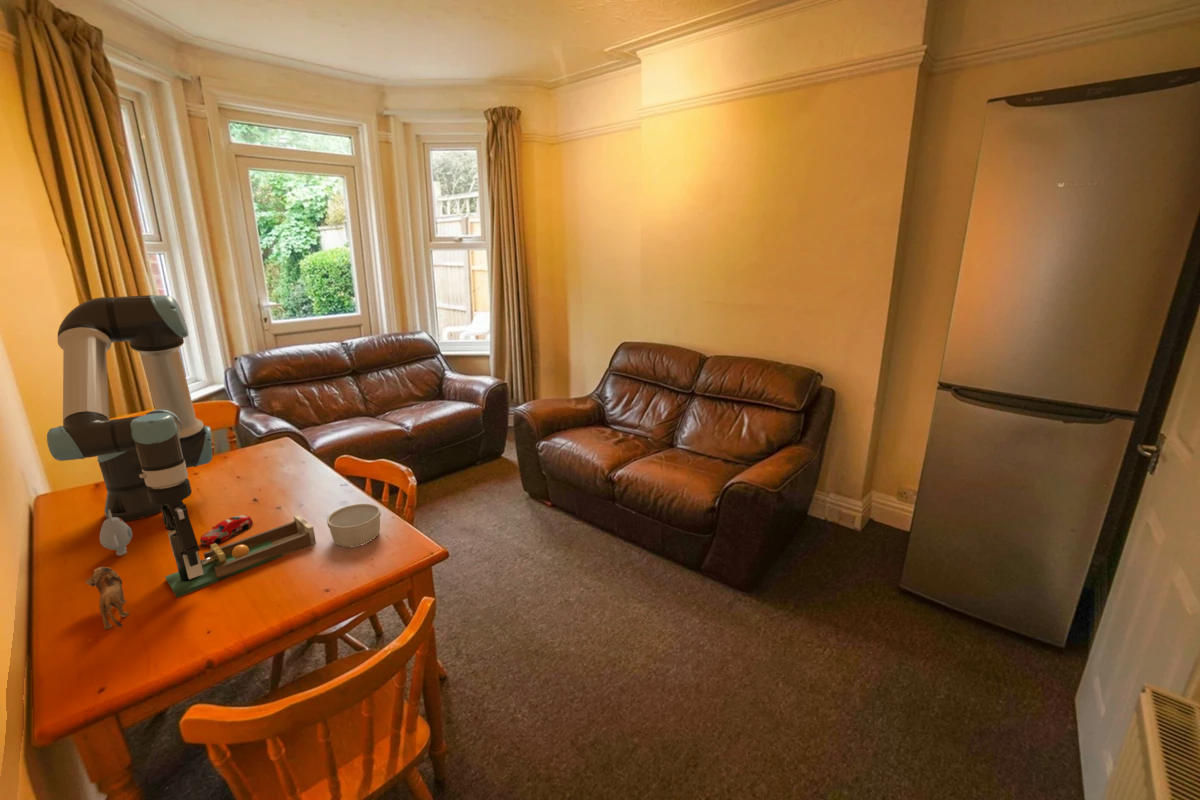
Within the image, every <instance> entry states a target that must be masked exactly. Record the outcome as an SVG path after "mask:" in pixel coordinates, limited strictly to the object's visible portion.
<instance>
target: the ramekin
mask: <svg viewBox="0 0 1200 800" xmlns="http://www.w3.org/2000/svg"><path fill="white" fill-rule="evenodd" d="M381 515H382V514H381V509H380V507H379V506H377V505H375V504H373V503H356V504H355V503H354V504H350V505H347V506H344V507H341V508H339V509H337V510H334V511H333V512H331V514H329V516H328V517H327V519H326V524H327V526H328V528H329V531H330V535H331V537H332V540H333V542H334V543H335V544H337V545H338V546H339V545H340V546H339V547H341V546H344V547H343V548H352V547H351V546H357V545H361V544H364V543H366V542H368V541H370V540H372V539H373V538H374V537H376V536H378V535H379V534H380V530H381ZM378 533H379V534H378ZM376 538H377V537H376ZM372 541H373V540H372ZM364 545H365V544H364ZM361 546H362V545H361ZM357 547H358V546H357Z"/></svg>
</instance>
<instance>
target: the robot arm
mask: <svg viewBox="0 0 1200 800" xmlns="http://www.w3.org/2000/svg"><path fill="white" fill-rule="evenodd" d="M184 317H185V316H184V314H183V312H182V310H181V308H180V306H179V303H178V302H177V300H176V299H175V298H174V297H173V296H170V295H167V294H166V295H160V294H159V295H158V294H157V295H156V294H155V295H154V294H149V295H135V296H134V295H130V296H111V297H107V296H101V297H96V298H92V299H89V300H86V301H83V302H82V303H80V304H79V305H77V306H75V308H73V309H72V310H71V311H70V312H69V313H67V314H66V316H65V317H64V318H63V320H62V321H61V323H60V325H59V327H58V331H57V344H58V345H57V346H59V348H60V349H62V350H63V355H62V359H63V361H62V364H63V365H62V366H63V367H62V369H63V370H62V374H63V377H62V378H63V379H62V425H59V426H56V427H52V428H49V430H48V431H47V433H46V441H47V442H46V443H47V448H48V451H49V453H50V455H51V456H52V457H53V459H54V460H56V461H60V462H63V461H75V460H84V459H87V458H93V457H94V458H95V457H96V458H97V462H98V465H99V468H100V471H101V474H102V479H103V481H104V485H105V488H106V492H107V493H106V497H105V498H106V499H105V506H104V515H105V518H106V520H107V519H109V517H108V510H110V511H111V514H112V517H117V518H119V519H122V521H123V522H129V521H135V520H139V519H140V520H141V519H143V518H147V517H149V516H153V515H156V514H158V513H160V512H161V513H162V519H163V526H165V529H166V531H167V536H168V539H169V543H170V547H171V551H172V555H173V557H174V558H175V556H174V552H173V548H172V544H171V540H170V536H172V535H173V534H175V533H176V534H177V536H178V539H179V542H180V544H181V547H182V550H183V552H181V553H180V556H182V555H183V559H184V563H185V567H186V571H187V574H188V578H189V579H192V578H195V577H197V576H200V575H203V574H204V573H203V569H202V565H201V561H200V560H201V558H200V554H199V551H201V550H200V549H201V547H200V546H199V544H198V540H197V538H196V535H195V532H194V529H193V526H192V523H191V519H190V515H189V509H188V507H187V505H186V504H184V503H185V502H184V500H185V499H187V498H188V497H190V496H191V494H192V486H191V483H190V479H189V478H188V477H189V472H188V470H187V468H188V469H189V468H193V467H194V468H195V467H196V468H197V467H199V466H202V465H207V464H209V463H211V462H212V460H213V441H212V429H211V426H207V425H205V424H204V422H203V420H201V419H198V418H196V413H195V408H194V406H193V405H194V404H193V401H192V397H191V393H190V389H189V385H188V384H189V383H188V381H187V377H186V373H185V369H184V365H183V361H182V356H181V353H180V348H181V347H182V346H183V345H184V342H185V341H184V338H187V337H188V336H189V329H188V327H187V323H186V320H185V318H184ZM117 342H118V343H120V342H121V343H123V342H124V343H125V342H128V344H129V347H130V349H132V350H133V351H134V352H135V351H136V352H138V353H139V355H140V360H141V364H142V367H143V370H144V373H145V378H146V381H147V384H148V388H149V391H150V395H151V399H152V401H153V405H154V408H155V409H153V410H151V411H149V412H147V413H146V414H142V415H137V416H131V417H130V416H129V417H123V418H122V417H121V418H115V419H114V418H113V419H110V408H109V407H110V405H109V402H110V401H109V384H108V383H109V382H108V362H107V359H108V358H107V357H108V356H107V352H108V351H109V350H110V348H111V346H112V343H117Z"/></svg>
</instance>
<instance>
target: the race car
mask: <svg viewBox="0 0 1200 800" xmlns="http://www.w3.org/2000/svg"><path fill="white" fill-rule="evenodd" d="M253 524H254V522H253V519H252V518H251V516H249V515H245V514H241V515H236V516H231V517H228V518H227V519H226V518H225V519H224V520H222V521H220V522H218V523H217V524H215V526H212V528H211V530H209V531H207V532H206V533H204V534H203V535H202V536H200V539H199V541H200V542H199V543H200V545H201V546H205V547H210V545H212V544H215V543H216V544H217V545H218V546H219V544H221V543H222V542H224V541H226V540H228V539H231V538H232V537H234V536H235V535H238V534H240V533H242V532H245V531H246V530H248V529H249V528H250V527H252V526H253Z"/></svg>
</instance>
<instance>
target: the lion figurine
mask: <svg viewBox="0 0 1200 800" xmlns="http://www.w3.org/2000/svg"><path fill="white" fill-rule="evenodd" d="M85 584H86V585H89V586H91V588H92V587H96V588H97V590H98V593H99V594H100V598H99V600H98V601H99V611H100V615H101V618H102V623H103V625H104V626H103V629H104V630H110V628H111V627H112V624H110V621H109V618H110V620H111V621H112V622H113V623H114V624H115V625H116V626H117V627H118V628H121V627H123V624H122V623H121V622H120V621H118V620H117V619H116V618H115V616H114V615H113V612H112V610H111V609H112V607H114V608H115V610H117V611H118V615H120V616H121V618H126V617H128V616H129V615H130V613H129V612H128V611H124V606H123V604H126V603H127V599H125V593H124V589H123V581H122V577H121V576H119V574H118V573H117V571H116V570H113V569H112V568H111V567H109V566H104V565H103V566H99V567H97V568H95V569H94V570H93V574H92V575H91V576H90V577H89V578H88V579H87V580H85ZM108 616H109V618H108Z"/></svg>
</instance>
